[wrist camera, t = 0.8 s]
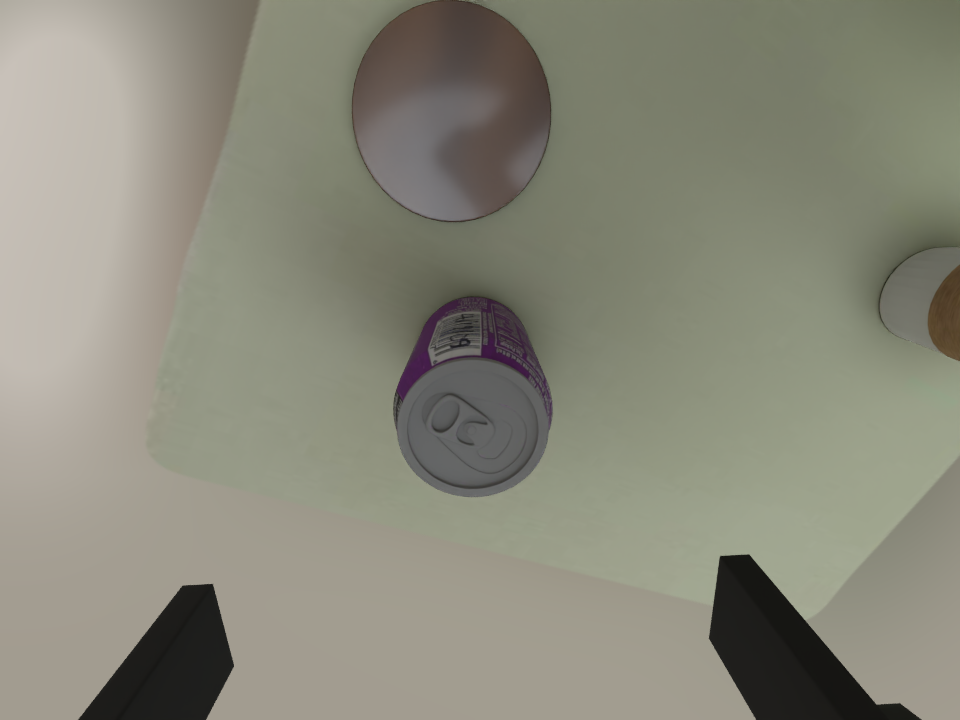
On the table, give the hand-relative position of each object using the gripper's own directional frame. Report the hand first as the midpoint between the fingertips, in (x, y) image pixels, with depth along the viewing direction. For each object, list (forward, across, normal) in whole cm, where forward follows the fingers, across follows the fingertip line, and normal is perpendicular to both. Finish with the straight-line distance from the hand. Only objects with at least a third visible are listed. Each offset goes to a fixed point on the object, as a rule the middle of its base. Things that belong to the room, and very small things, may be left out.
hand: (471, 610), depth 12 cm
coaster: (+19, 0, +15) cm, 24 cm away
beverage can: (+20, 0, +2) cm, 20 cm away
